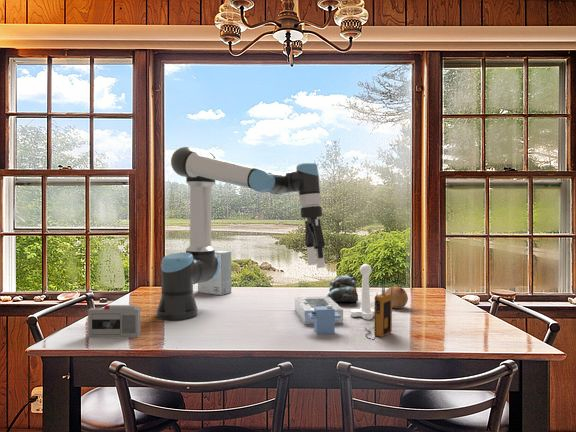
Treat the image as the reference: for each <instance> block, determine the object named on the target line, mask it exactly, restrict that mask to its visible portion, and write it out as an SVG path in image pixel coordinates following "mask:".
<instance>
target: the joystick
mask: <svg viewBox="0 0 576 432" xmlns="http://www.w3.org/2000/svg"><path fill="white" fill-rule="evenodd" d="M359 272H360V274H361V276H362V280H361V281H362V283H361V298H360V308H357V309H356V308H355V309H350V317H354V318H355V317H361V318H362V319H363V320H372V319H373V318H374V308H371V297H370V296H371V295H370V274H372V272H373V271H372V266H371V265H369V264H368V263H364V264H362V265H360V267H359Z"/></svg>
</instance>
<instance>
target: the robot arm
mask: <svg viewBox="0 0 576 432" xmlns="http://www.w3.org/2000/svg"><path fill="white" fill-rule="evenodd" d="M170 158H171V159H170V166H171V168H172V169H173V170H172V171H174V173H176V174H177V175H178V176H181V177H184V178H186V179H185V180H186V181H185V183H186V184H187V185H189V189H190V190H189V245H188V247H187V248H186V249H185V251H184V252H183V251H182V252H176V253H174V252H173V253H170V254H167V255H165V256H163V258H162V259H161V265H160V266H161V267H160V270H161V272H160V273H161V275H160V277H161V297H160V300H159V302H158V303H159V304H158V305H157V309H156V318H158V319H159V320H167V321H179V320H180V321H181V320H189V319H191V318H195V317H196V316H198V314H199V313H198V306H197V303H196V300H195V296H194V285H196V284H197V285H198V283H201V282H206V281H209V280H211V279H213V278H214V277H215V276H216V275H217V274H218V272H219V270H220V260H219V258H218V257H217V255H216V254H215V251H216V250H215V249H216V248H214V247H213V245H212V189H213V188H212V187H213V186H214V185H215V184H216V181H218V182H221V183H226V184H229V185H230V184H231V185H235V186H238V187H243V188H247V189H250V190H253V191H255V192H258V193H262V194H263V193H264V194H265V193H269V194H270V195H281V194H289V193H295V192H298V198H299V206H300V218H301V219H306V220H305V221H304V225H305V226H304V228H305V230H304V231H305V233H304V234H305V235H304V237H305V238H304V245H305V247H306V252H307V262H308V266H313V265H316V269H323V268H326V263H325V251H324V247H326V243H325V239H324V235H323V229H322V226H321V219H320V217H322V216H323V211H322V210H323V207H322V206H320V205H321V204H322V198H323V197H322V195H321V190H320V189H321V187H320V177H319V176H320V173H319V169H318V165H317V163H315V162H302V163H298V164H297V165H296V169H295V170H293V171H286V172H281V171H275V170H274V171H273V170H268V169H263V168H259V167H255V166H254V167H253V166H249V165H246V164H242V163H241V164H240V163H236V162H232V161H227V160H222V159H220V158H219V156H217V154H216V153H214V152H212V151H209V150H206V149H201V148H200V149H199V148H196V147H195V148H193V147H189V146H184V147H183V146H182V147H179V148H178V149H176V150H175V151H174V152H173V154H172V155H171V157H170Z"/></svg>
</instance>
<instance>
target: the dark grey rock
mask: <svg viewBox="0 0 576 432" xmlns="http://www.w3.org/2000/svg"><path fill="white" fill-rule="evenodd" d="M357 284H358V277H357V276H354V274H351V273H350V274H348V275H345V274H343V275H339V276H337V277H336V278H335V279H333V281H330V282H329V289H328V291H329V292H328V294H326V296H325V297H327V296H329V297H330V298H331V299H332V300H333V301H334V302H335V303H337V302H347V303H348V302H350V303H356V302H359V295H358V291H357Z"/></svg>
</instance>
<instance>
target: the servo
mask: <svg viewBox="0 0 576 432" xmlns="http://www.w3.org/2000/svg"><path fill="white" fill-rule="evenodd" d="M308 316H309V317H310V319H314V324H313V331H314V332H315V334H316V333H317V334H316V335H326V334H336V333H335V331H336V329H335V326H336V324H335V318H341V316H340V315H339V314H338V313H337V312H335V309H334V308H333V307H332V305H327V306H320V307H314V311H312V313H308Z"/></svg>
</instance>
